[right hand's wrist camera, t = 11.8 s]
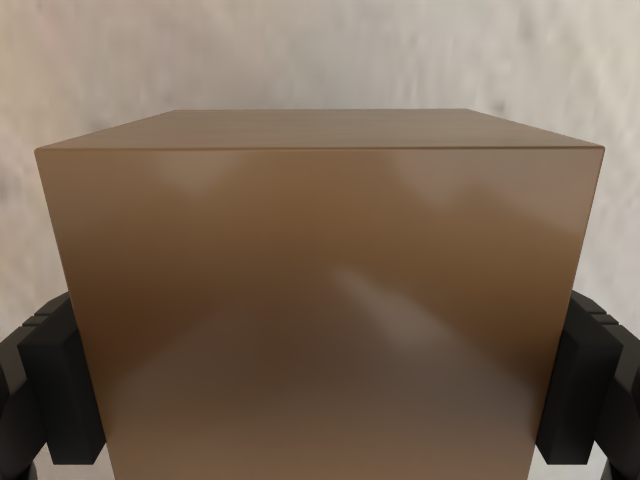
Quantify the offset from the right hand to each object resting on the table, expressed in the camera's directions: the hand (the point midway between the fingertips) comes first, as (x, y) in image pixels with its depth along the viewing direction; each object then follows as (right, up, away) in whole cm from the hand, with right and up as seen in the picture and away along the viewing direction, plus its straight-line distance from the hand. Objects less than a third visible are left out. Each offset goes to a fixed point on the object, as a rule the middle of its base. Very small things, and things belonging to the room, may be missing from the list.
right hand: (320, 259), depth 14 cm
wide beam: (0, -29, +12) cm, 31 cm away
